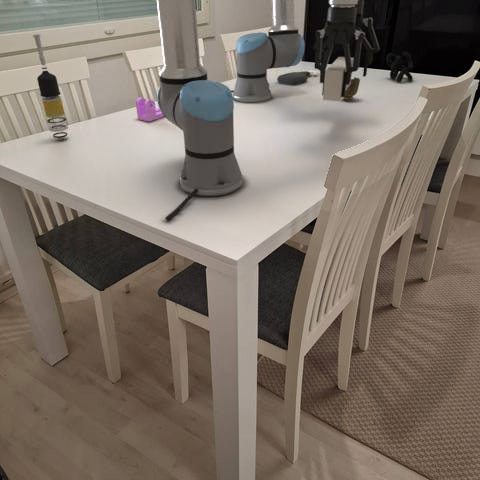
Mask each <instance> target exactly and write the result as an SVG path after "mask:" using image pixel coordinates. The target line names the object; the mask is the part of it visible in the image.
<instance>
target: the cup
mask: <svg viewBox="0 0 480 480" xmlns="http://www.w3.org/2000/svg"><path fill="white" fill-rule="evenodd" d="M360 82H361V78H359V77H357V76H355V77H354V78H351V84H350V85H349V87H348V88H347V90H346V91H345V96H344V97H342V98H343V101H346V102H347V101H348V102H350V101H353V99H354V96H356V95H357V93H358V90H359V87H360Z"/></svg>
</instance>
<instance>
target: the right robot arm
mask: <svg viewBox="0 0 480 480" xmlns="http://www.w3.org/2000/svg"><path fill="white" fill-rule="evenodd" d="M364 4H365V0H358V2H357V4H356V5H355V7H356V8H357V11H356V19H355V27H356V30H358V31H360V32H363V30H362V29H361V28H360V27H361V26H362V25H363V24H364V26H365V27H367V31H368V34H369V38H370V41H371V43H372V45H371V44H370V42H369V41H368V39H367V38H366V35H365V36H364V38H363V40H362V45H363V47H364V48H365V50H366V53H365V56H364V57H365V59H364V64H363V71H362V72H363V73H362V77H366V76H367V73H368V66H371V64H373V63H372V62H373V55H374V54H376V53H379V51H380V49H381V47H380V45H379V42H378V39H377V35H376V32H375V29H374V25H373V24H374V23H373V22H374V20H373V17H369V18H368V17H367V18H364V17H363V13H364ZM270 10H271V11H270V13H271V27H270V28H269V29H268V31H267V32H261V31H260V32H252V33H247V34H244V35H243V34H242V35H241V36H239V37H238V38H237V40H236V48H235V52H236V53H235V54H236V82H235V85H234V89H232V90H231V89H230V90H231V92H232V98H233V101H237V102H240V103H247V104H248V103H250V104H251V103H263V102H267V101H269V100H271V99H272V92H271V89H270V83H269V81H268V75H267V74H268V70H272V69H279V68H290V67H296V66H297V65H298V64H300V62H301V61H302V60H303V57H304V54H305V47H306V44H305V40H304V36H303V35H302V34H300V33H299V28H298V27H297V26H296V25H295V0H270ZM323 25H324V26H323V27H322V29H321V30H323V29H325V27H326V25H327V17H325V21H324V24H323ZM325 35H326V33H325V34H324V36H325ZM323 38H324V37H323ZM323 38H322V40H323ZM329 41H330V40H329V39H328V38H326V40H324V42H322V50H321V62H320V64H321V65H322V63H323V60H324V57H325V54H326V51H327V50H325V48H326V47H328V44H329ZM372 46H373V47H372ZM312 48H313V49H314V50H316V41H314V44H313V46H312Z"/></svg>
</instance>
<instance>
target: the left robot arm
mask: <svg viewBox="0 0 480 480" xmlns="http://www.w3.org/2000/svg"><path fill="white" fill-rule="evenodd" d="M357 2H358V0H328V4H329V5H330V6H328V8H327V16H326V18H327V25H326V27H325V29H323V28H322V29H323V30H322V29H319V30H317V31H315V32H314V36H315V42H316V49H315V52H314V53H315V55H314V66H313V68H314V69H315V70H317V71H319V72H320V74H319V83H320V84H322V91H321V92H322V93H321V96H323V91H324V80H325V71H326V70H327V68H328V64H329V61H330V58H331V55H332V52H333V49H334V46H335V45H337V44H339V45H342V48H343V55H344V57H345V63H346V71H347V72H344V75H343V84H342V93H341V97H342V98H343V97H344V96H345V91H346V85H349V84H350V81H351V79H352V76H351V73H352V74H353V73H354V72H357V71H358V70H359V68H360V60H361V53H362V52H361V51H362V45H363V44H362V40H363V38H364V36H365V37H366V32H364V31H362V32H360V31H358V30H356V27H355V19H356V11H357V8H356V7H355V5H356V4H357ZM156 4H157V13H158V22H159V31H160V39H161V49H162V56H163V64H164V65H163V67H162V69H161V70H160V71H159V73H158V77H159V87H158V89H157V93H156V101H157V105H158V108H160V110H161V112H162V113H163V115H164V118H165V119H166V120H167V121H168V122H170V123H171V124H173V125H175V126H176V127H178V128H179V129H180V130H181V131H182V132H183V143H184V154H185V155H184V158H183V164H182V168H181V171H180V177H179V183H180V184H179V185H180V188H181V189H182V191H184V192H186V193H187V194H188V195H187V196H186V198H185V199H184V200H183V201H181V203H180V204H179V205H178V206H177V207H175V209H174V210H172V211H171V212H170V213H169V214H168V215H166V216H165V220H166V221H169V220H171V219H172V218H173V217H174V216H176V215H177V214H178V213H179V212H180V211H181V210H183V208H184V207H185V206H186V205H187V204H188V203H189V201H190V200H191V199H192V198H194V196H199V197H221V196H224V195H229V194H232V193H234V192H235V191H237V190H239V189H240V188H241V187H242V185H243V174H242V171H241V168H240V165H239V163H238V160H237V157H236V154H235V132H234V131H235V130H234V127H235V126H234V109H235V105H234V99H233V92H231V88H230V87H228V86H227V85H226V84H225V83H222V82H219V81H213V80H209V79H208V71H207V69H206V68H205V67H204V66H203V65H202V64H201V58H200V45H199V32H198V20H197V19H198V18H197V6H196V5H197V4H196V0H156ZM324 34H325V35H326V37H327V39H329V40H330V41H329V44H328V45H327V46H326V47H327V48H326V50H325V51H326V53H325V57H324V60H323V63H322V65H321V50H322V44H323V39H322V38H324V37H325V35H324ZM353 36H355V40H356V43H355V51H354V57H353V58H354V60H353V67H352V65H351V58H352V57H351V51H350V50H351V47H350V40H351V39H352V38H353Z"/></svg>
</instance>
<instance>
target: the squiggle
mask: <svg viewBox="0 0 480 480" xmlns="http://www.w3.org/2000/svg"><path fill="white" fill-rule="evenodd" d="M401 57H402V59H401ZM391 59H392V60H391ZM393 60H394V61H393ZM385 61H386V64H387V67H390V68H391V70H390V72H389V78H390V79H391V80H395V79H396V81H397V82H399V83H400V82H402V81H403V79H404V76H406V78H407V80H408V81H412V80H413V79H414V77H413V75H412V74H411V73H410V72H409V71H410V70H412V69H413V68H414V64H413V61H412V57H411V54H410V53H409V52H408V51H403V53H402V54H401V55H396V54H394V53H392V52H390V53H387V55H386V57H385ZM406 62H407V65H408V66H407V67H405V66H404V65H405V64H406ZM400 70H401V71H400Z"/></svg>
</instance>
